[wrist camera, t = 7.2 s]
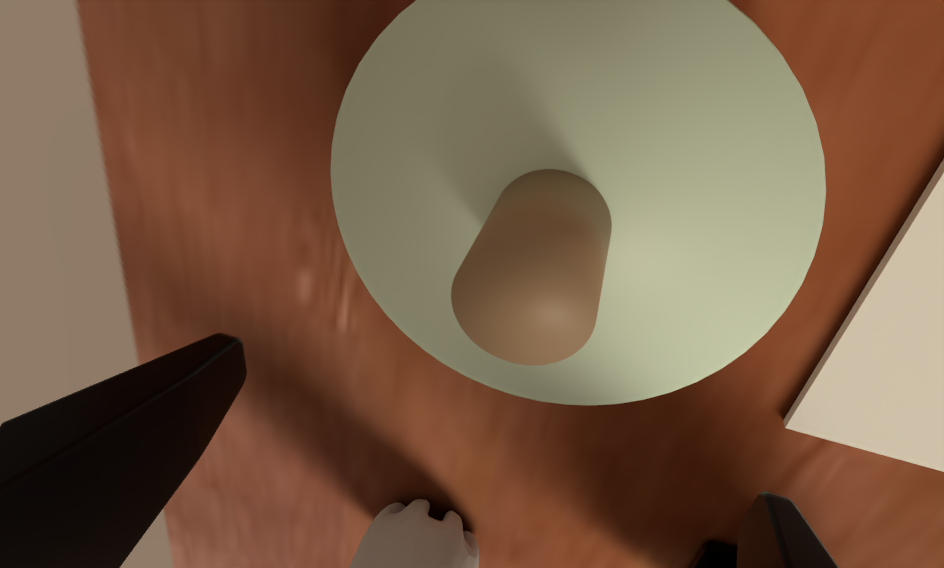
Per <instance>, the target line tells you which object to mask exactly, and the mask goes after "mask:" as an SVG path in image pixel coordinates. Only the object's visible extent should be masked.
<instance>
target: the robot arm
mask: <svg viewBox="0 0 944 568" xmlns="http://www.w3.org/2000/svg"><path fill="white" fill-rule="evenodd" d="M246 374H247V369H246V362H245V355H244V347H243V342H242V341H241V339H239V338H238V337H234V336H231V335H227V334H224V333H217V334H214V335H211V336H209V337H206V338H204V339H202V340H199V341H197V342H195V343H192V344H190V345H187V346H185V347H183V348H180V349H178V350H175V351H173V352H171V353H168V354H166V355H163V356H161V357H159V358H156V359H154V360H151V361H149V362H147V363H144V364H142V365H140V366H137V367H135V368H132V369H130V370H128V371H125V372H123V373H120V374H118V375H116V376H113V377H111V378H109V379H106V380H104V381H101V382H99V383H97V384H94V385H92V386H89V387H87V388H85V389H82V390H80V391H77V392H75V393H73V394H71V395H68V396H66V397H63V398H61V399H58V400H56V401H53V402H51V403H49V404H46V405H44V406H42V407H39V408H37V409H34V410H32V411H30V412H27V413H25V414H22V415H20V416H18V417H15V418H13V419H10V420H8V421H6V422H3V423H2V424H1V426H0V568H120V566H121V565H122V563H123V562H124V561H125V559H126V558H127V557H128V555H129V554H130V552H131V551H132V550H133V548H134V547H135V546H136V544H137V543H138V542H139V540H140V539H141V538H142V536H143V535H144V533H145V532H146V531H147V529H148V528H149V527H150V525H151V524H152V523H153V521H154V520H155V519H156V517H157V516H158V514H159V513H160V512H161V510H162V509H163V508H164V506H165V505H166V504H167V502H168V501H169V499H170V498H171V497H172V495H173V494H174V493H175V491H176V490H177V489H178V487H179V486H180V485H181V483H182V482H183V480H184V479H185V478H186V476H187V475H188V474H189V472H190V471H191V470H192V468H193V467H194V465H195V464H196V463H197V461H198V460H199V458H200V457H201V455H202V454H203V452H204V451H205V449H206V447H207V446H208V444H209V442H210V441H211V439H212V437H213V436H214V434H215V432H216V430H217V429H218V427H219V425H220V424H221V422H222V420H223V419H224V417H225V415H226V413H227V412H228V410H229V408H230V407H231V405H232V403H233V401H234V400H235V398H236V396H237V395H238V393H239V391H240V389H241V388H242V386H243V384H244V382H245V379H246ZM689 568H839V567H838V565H837V564H836V563H835V561H834V560H833V558H832V557H831V555H830V554H829V553H828V551H827V550H826V548H825V547H824V545H823V544H822V543H821V541H820V540H819V538H818V537H817V535H816V534H815V532H814V531H813V530H812V528H811V527H810V525H809V524H808V522H807V521H806V520H805V518H804V517H803V515H802V514H801V512H800V511H799V509H798V508H797V507H796V505H795V504H794V503H793V502H792V501H791V500H790V499H789V498H787V497H784V496H781V495H777V494H774V493H770V492H767V491H764V492H761V493H760V494H759V495H758V496H757V497H756V499H755V500H754V502H753V504H752V505H751V507H750V508H749V510H748V511H747V513H746V514H745V516H744V517H743V519H742V521H741V523H740V526H739V531H738V548H735V547H732V546H729V545H725V544H722V543H719V542H714V541H710V542H706V543H705V544H703V546H702V547H701V549H700V551H699V552H698V554H697V556H696V557H695V559H694V561H693V562H692V564H691V566H690V567H689Z"/></svg>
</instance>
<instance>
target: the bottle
mask: <svg viewBox="0 0 944 568" xmlns="http://www.w3.org/2000/svg"><path fill="white" fill-rule="evenodd" d="M429 508H430V504H429V502H428V501H427V500H423V499H416V500H414V501H413V502H411V503H410V504H409V505H408V506H407V507H405V506H404V505H403V504H402V503H398V502H397V503H393V504H390V505H388V506H387V507H385V508H384V509H383V510H382V511H381V512H380V513H379V514H378V515H377V516H376V517H375V519H374V520H373V522H372V523H371V525H370V527H369V528H368V530H367V532H366V533H365V535H364V537H363V539H362V540H361V542H360V545H359V547H358V549H357V551H356V554H355V556H354V558H353V561H352V563H351V565H350V568H478V565H479V547H478V544H477V540H476V538H475V536H474V535H473V534H472V533H471V532H469V531H463V524H462V520H461V517H460V516H459V515H458V514H456V513H455V512H453V511H449V512H447V513H446V515H445V517H444V519H443V521H438V520H435V519H433V518H431V517H429V516H428V512H429Z"/></svg>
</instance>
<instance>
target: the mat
mask: <svg viewBox="0 0 944 568" xmlns="http://www.w3.org/2000/svg"><path fill="white" fill-rule="evenodd" d="M783 421H784V426H785V428H787V429H790V430H794V431H798V432H801V433H805V434H809V435H812V436H816V437H820V438H823V439H827V440H830V441H834V442H838V443H841V444H845V445H849V446H852V447H856V448H859V449H863V450H867V451H870V452H874V453H878V454H881V455H885V456H889V457H892V458H896V459H899V460H903V461H907V462H910V463H914V464H918V465H921V466H925V467H928V468H932V469H936V470H939V471H943V472H944V159H943V161H942V162H941V164H940V166H939V167H938V169H937V170H936V172H935V174H934V175H933V177H932V179H931V180H930V182H929V183H928V185H927V187H926V188H925V190H924V192H923V193H922V195H921V197H920V198H919V200H918V201H917V203H916V205H915V206H914V208H913V210H912V211H911V213H910V214H909V216H908V218H907V219H906V221H905V223H904V224H903V226H902V228H901V229H900V231H899V232H898V234H897V236H896V237H895V239H894V241H893V242H892V244H891V245H890V247H889V249H888V250H887V252H886V254H885V255H884V257H883V259H882V260H881V262H880V263H879V265H878V267H877V268H876V270H875V272H874V273H873V275H872V276H871V278H870V280H869V281H868V283H867V285H866V286H865V288H864V290H863V291H862V293H861V294H860V296H859V298H858V299H857V301H856V303H855V304H854V306H853V308H852V309H851V311H850V312H849V314H848V316H847V317H846V319H845V321H844V322H843V324H842V325H841V327H840V329H839V330H838V332H837V334H836V335H835V337H834V339H833V340H832V342H831V343H830V345H829V347H828V348H827V350H826V352H825V353H824V355H823V356H822V358H821V360H820V361H819V363H818V365H817V366H816V368H815V370H814V371H813V373H812V374H811V376H810V378H809V379H808V381H807V383H806V384H805V386H804V387H803V389H802V391H801V392H800V394H799V396H798V397H797V399H796V401H795V402H794V404H793V405H792V407H791V409H790V410H789V412H788V414H787V415H786V417H785V419H784V420H783Z"/></svg>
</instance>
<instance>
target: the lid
mask: <svg viewBox="0 0 944 568" xmlns="http://www.w3.org/2000/svg"><path fill="white" fill-rule="evenodd" d="M330 173H331V185H332V197H333V203H334V208H335V213H336V218H337V222H338V226H339V229H340V232H341V235H342V238H343V241H344V244H345V247H346V250H347V252H348V254H349V256H350V258H351V260H352V263H353V265H354V267H355V269H356V271H357V273H358V275H359V276H360V278H361V280H362V281H363V283H364V284H365V286H366V288H367V289H368V291H369V293H370V294H371V296H372V297H373V298H374V299H375V301H376V302H377V303H378V305H379V306H380V307H381V308H382V310H383V311H384V312H385V314H386V315H387V316H388V317H389V318H390V319H391V320H392V321H393V322H394V323H395V324H396V325H397V326H398V327H399V329H400V330H401V331H402V332H403V333H404V334H405V335H407V336H408V337H409V338H410V339H411V340H413V341H414V342H415V343H416V344H417V345H418V346H420V347H421V348H422V349H423V350H424V351H426V352H427V353H429V354H430V355H432V356H433V357H434V358H436V359H437V360H439V361H440V362H442V363H443V364H445V365H446V366H448V367H450V368H452V369H453V370H455V371H457V372H459V373H461V374H462V375H464V376H466V377H468V378H470V379H473V380H475V381H477V382H479V383H482V384H484V385H486V386H488V387H491V388H494V389H497V390H500V391H503V392H506V393H509V394H512V395H515V396H520V397H524V398H528V399H532V400H537V401H543V402H550V403H557V404H565V405H590V406H591V405H608V404H620V403H626V402H632V401H638V400H644V399H648V398H652V397H655V396H659V395H663V394H666V393H670V392H673V391H675V390H678V389H680V388H683V387H685V386H688V385H690V384H693V383H696V382H698V381H699V380H701V379H703V378H705V377H707V376H709V375H711V374H713V373H714V372H716V371H718V370H720V369H722V368H723V367H725V366H726V365H727V364H729V363H730V362H732V361H733V360H735V359H736V358H738V357H739V356H740V355H742V354H743V353H745V352H746V351H747V350H748V349H749V348H750V347H751V346H752V345H753V344H755V343H756V342H757V341H758V340H759V339H760V338H761V337H762V336H763V335H765V334H766V333H767V331H768V330H769V329H770V328H771V327H772V326H773V324H774V323H775V322H776V321H777V320H778V318H779V317H780V316H781V315H782V314H783V313H784V311H785V310H786V309H787V307H788V305H789V304H790V302H791V301H792V299H793V297H794V296H795V294H796V293H797V291H798V290H799V288H800V286H801V285H802V283H803V280H804V278H805V276H806V274H807V271H808V269H809V267H810V264H811V262H812V260H813V258H814V255H815V251H816V248H817V244H818V240H819V236H820V233H821V229H822V225H823V217H824V207H825V197H826V182H825V165H824V155H823V150H822V146H821V142H820V137H819V133H818V128H817V124H816V121H815V118H814V116H813V114H812V111H811V109H810V106H809V104H808V101H807V99H806V96H805V94H804V92H803V89H802V87H801V86H800V84H799V82H798V81H797V79H796V77H795V76H794V74H793V73H792V71H791V69H790V68H789V66H788V64H787V63H786V61H785V60H784V58H783V56H782V55H781V53H780V52H779V51H778V49H777V48H776V47H775V46H774V44H773V43H772V42H771V41H770V40H769V39H768V38H767V36H766V35H765V34H764V33H763V32H762V31H761V29H760V28H759V27H758V26H757V25H756V24H755V23H754V21H753V20H752V19H751V18H749V17H748V16H747V15H746V14H745V13H744V12H742V11H741V10H740V9H739V8H738V7H736V6H735V5H734V4H733V3H732V2H730V1H729V0H416V1H415V2H414V3H412V4H411V5H410V6H408V7H407V8H406V9H405V10H403V11H402V12H401V13H400V14H399V15H398V16H397V17H396V18H395V19H394V20H393V21H392V22H391V23H390V24H389V25H388V26H387V27H386V28H385V30H384V31H383V32H382V33H381V34H380V35H379V36H378V37H377V38H376V40H375V41H374V43H373V44H372V46H371V47H370V48H369V50H368V51H367V53H366V54H365V56H364V57H363V58H362V60H361V61H360V63H359V65H358V67H357V69H356V71H355V73H354V75H353V77H352V79H351V81H350V83H349V85H348V87H347V89H346V91H345V94H344V97H343V100H342V103H341V106H340V109H339V112H338V116H337V119H336V125H335V130H334V136H333V141H332V150H331V172H330Z"/></svg>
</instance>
